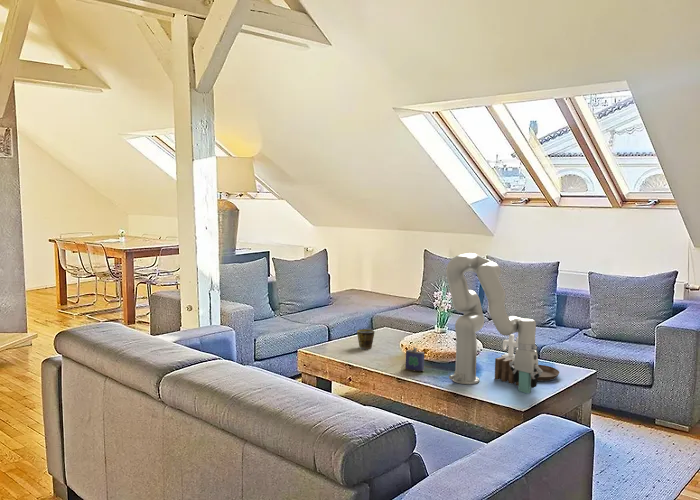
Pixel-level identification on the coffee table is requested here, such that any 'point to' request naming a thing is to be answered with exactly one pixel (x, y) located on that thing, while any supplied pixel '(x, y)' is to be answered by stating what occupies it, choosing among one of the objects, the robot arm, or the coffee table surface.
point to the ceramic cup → (365, 338)
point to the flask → (414, 360)
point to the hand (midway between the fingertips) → (525, 384)
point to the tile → (524, 382)
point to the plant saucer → (547, 373)
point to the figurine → (510, 347)
